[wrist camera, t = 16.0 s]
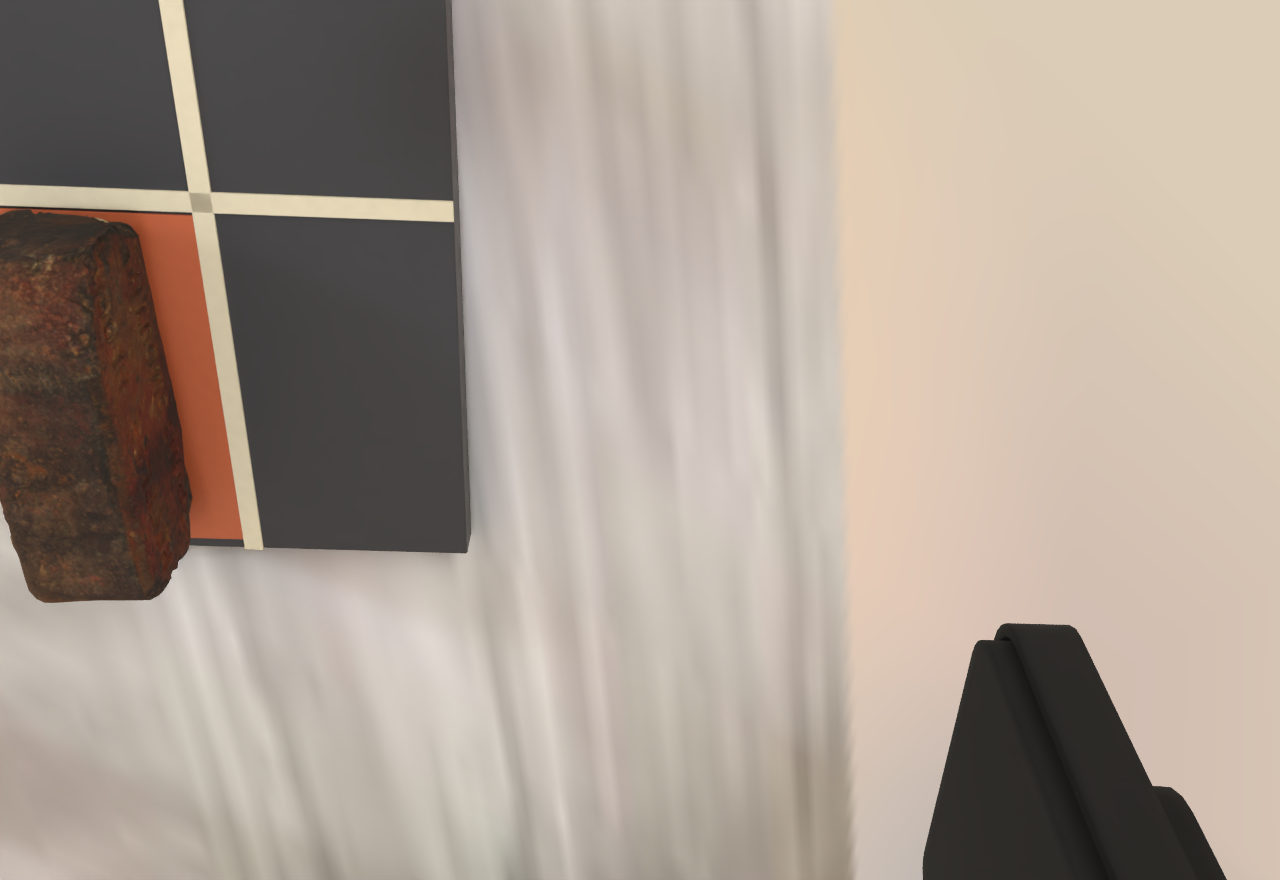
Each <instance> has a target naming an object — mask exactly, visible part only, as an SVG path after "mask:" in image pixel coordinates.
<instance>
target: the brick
mask: <svg viewBox="0 0 1280 880" xmlns="http://www.w3.org/2000/svg"><path fill="white" fill-rule="evenodd" d="M192 499H193V498H192V493H191V489H190V482H189V477H188V474H187V470H186V468H185V464H184V452H183V441H182V428H181V424H180V420H179V416H178V412H177V406H176V400H175V398H174V392H173V387H172V382H171V378H170V374H169V371H168V366H167V361H166V357H165V352H164V347H163V343H162V339H161V335H160V331H159V327H158V322H157V318H156V312H155V307H154V302H153V298H152V293H151V288H150V285H149V281H148V276H147V272H146V267H145V262H144V258H143V253H142V249H141V244H140V239H139V235H138V234H137V233H136V232H135V230H134V229H133V228H132V227H131V226H130V225H129V224H127V223H123V222H114V221H112V222H110V221H105V220H103V219H99V218H95V217H88V216H80V215H68V214H55V213H51V212H47V213H42V212H39V213H37V214H34V213H32V211H31V209H23V210H11V211H8V212H6V213H3V214H1V215H0V502H1V505H2V507H3V514H4V516H5V520H6V521H7V523H8V525H9V529H10V532H11V540H12V544H13V546H14V548H15V550H16V552H17V554H18V556H19V559H20V562H21V566H22V570H23V573H24V577H25V580H26V583H27V585H28V589H29V591H30V592H31V593H32V594H33V595H34V597H35V598H36V599H38V600H40V601H42V602H45V603H55V602H73V601H94V600H151V599H153V598H155V597H157V596H158V595H160V594H161V593H162V592H163V591H164V589H165V588H166V586H167V584H168V583H169V581H170V579H171V573H172V571H173V570H175V569H176V568H177V566H178V561H179V560H180V559H182V558H183V556H184V555H185V554H186V552H187V550H188V548H189V543H190V538H191V532H190V517H189V513H190V509H191V502H192Z"/></svg>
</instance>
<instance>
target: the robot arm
mask: <svg viewBox="0 0 1280 880" xmlns="http://www.w3.org/2000/svg"><path fill="white" fill-rule="evenodd" d="M923 880H1227V879H1226V877H1225V876H1224V873H1223V871H1222V869H1221V867H1220V865H1219V864H1218V862H1217V859H1216V857H1215V856H1214V854H1213V852H1212V849H1211V848H1210V846H1209V844H1208V842H1207V840H1206V838H1205V836H1204V834H1203V832H1202V830H1201V828H1200V826H1199V824H1198V822H1197V820H1196V818H1195V816H1194V814H1193V812H1192V811H1191V809H1190V807H1189V806H1188V804H1187V803H1186V801H1185V800H1184V798H1183V797H1182V796H1181V795H1180V794H1179V793H1177V792H1176V791H1175V790H1173V789H1172V788H1170V787H1161V786H1152V784H1151V782H1150V780H1149V778H1148V776H1147V774H1146V772H1145V769H1144V767H1143V765H1142V763H1141V761H1140V759H1139V757H1138V755H1137V753H1136V751H1135V749H1134V747H1133V744H1132V742H1131V740H1130V738H1129V736H1128V734H1127V732H1126V730H1125V728H1124V726H1123V724H1122V721H1121V719H1120V717H1119V715H1118V713H1117V711H1116V709H1115V707H1114V705H1113V703H1112V701H1111V699H1110V696H1109V695H1108V692H1107V690H1106V688H1105V686H1104V684H1103V682H1102V680H1101V678H1100V676H1099V673H1098V671H1097V669H1096V667H1095V665H1094V663H1093V661H1092V659H1091V657H1090V655H1089V653H1088V651H1087V648H1086V647H1085V644H1084V642H1083V640H1082V638H1081V636H1080V635H1079V633H1078V632H1077V630H1076V629H1075V628H1073V627H1072V626H1070V625H1045V624H1011V623H1007V624H1003V625H1001V626H1000V628H999V629H998V630H997V633H996V636H995V638H994V640H980V641H978V642H977V643H976V645H975V647H974V650H973V652H972V657H971V661H970V665H969V669H968V673H967V677H966V681H965V685H964V689H963V694H962V698H961V702H960V706H959V710H958V714H957V719H956V723H955V727H954V731H953V735H952V739H951V743H950V747H949V752H948V756H947V760H946V764H945V768H944V772H943V776H942V780H941V785H940V789H939V794H938V797H937V801H936V805H935V809H934V814H933V818H932V822H931V826H930V830H929V834H928V838H927V843H926V847H925V851H924V857H923Z"/></svg>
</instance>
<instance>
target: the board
mask: <svg viewBox="0 0 1280 880" xmlns="http://www.w3.org/2000/svg"><path fill="white" fill-rule="evenodd" d="M23 209H31V211H32V213H34V214H37V213H39V212H42V213H47V212H51V213H55V214H68V215H80V216H88V217H95V218H99V219H103V220H105V221H110V222H112V221H114V222H123V223H127V224H129V225H130V226H131V227H132V228H133V229H134V230H135V232H136V233H137V234H138V235H139V239H140V244H141V249H142V253H143V258H144V262H145V267H146V272H147V276H148V281H149V285H150V288H151V293H152V298H153V302H154V307H155V312H156V318H157V322H158V327H159V331H160V335H161V339H162V343H163V347H164V352H165V357H166V361H167V366H168V371H169V374H170V378H171V382H172V387H173V392H174V398H175V400H176V406H177V412H178V416H179V420H180V424H181V428H182V441H183V452H184V464H185V468H186V470H187V474H188V477H189V482H190V489H191V493H192V498H193V499H192V502H191V509H190V513H189V517H190V532H191V538H190V543H189V545H196V546H231V547H245V549H254V550H263V549H264V547H266V548H301V549H336V550H370V551H405V552H440V553H467V551H468V546H469V540H470V535H471V520H470V493H469V466H468V439H467V412H466V385H465V358H464V331H463V304H462V277H461V250H460V223H459V196H458V169H457V142H456V115H455V88H454V61H453V34H452V7H451V0H0V215H1V214H3V213H6V212H8V211H11V210H23Z"/></svg>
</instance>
